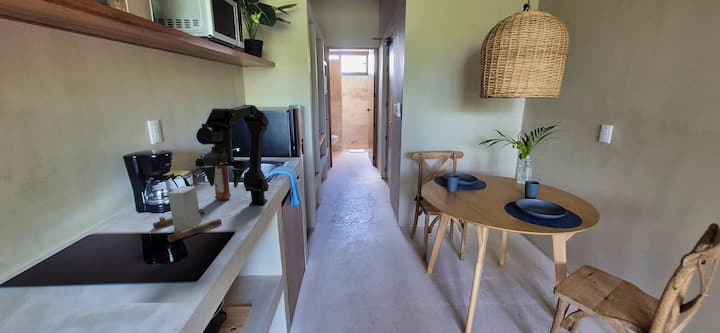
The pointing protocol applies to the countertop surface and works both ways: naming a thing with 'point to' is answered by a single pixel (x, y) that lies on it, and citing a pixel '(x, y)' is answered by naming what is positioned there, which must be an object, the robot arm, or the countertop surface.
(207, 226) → the guide track
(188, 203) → the skincare box
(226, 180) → the red white cylinder
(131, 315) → the countertop surface
